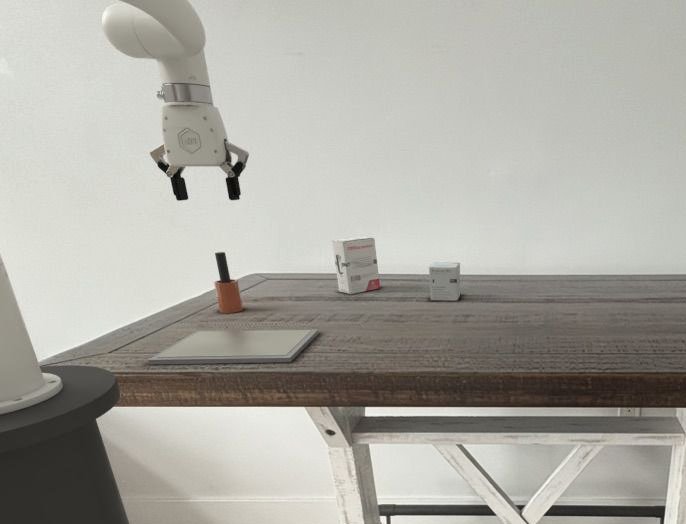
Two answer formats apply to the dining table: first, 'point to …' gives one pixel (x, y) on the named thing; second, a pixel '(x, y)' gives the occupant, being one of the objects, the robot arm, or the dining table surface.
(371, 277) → the ink box
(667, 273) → the dining table surface
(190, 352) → the tablet
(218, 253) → the stylus
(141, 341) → the dining table surface
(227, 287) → the pen cup
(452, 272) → the product carton
